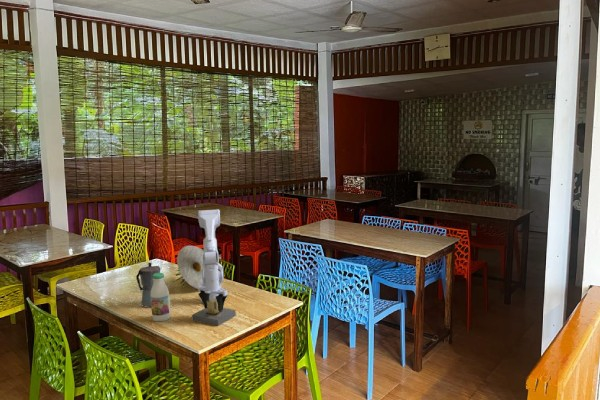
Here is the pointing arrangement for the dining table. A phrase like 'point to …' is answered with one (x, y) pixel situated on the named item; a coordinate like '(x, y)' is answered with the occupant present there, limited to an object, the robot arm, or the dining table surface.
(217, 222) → the robot arm
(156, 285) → the milk bottle
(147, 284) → the moka pot
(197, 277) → the disc
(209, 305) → the plug block
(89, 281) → the dining table surface
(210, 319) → the grey flat slab
